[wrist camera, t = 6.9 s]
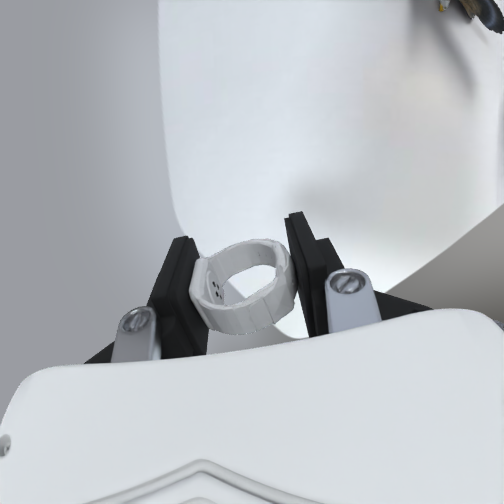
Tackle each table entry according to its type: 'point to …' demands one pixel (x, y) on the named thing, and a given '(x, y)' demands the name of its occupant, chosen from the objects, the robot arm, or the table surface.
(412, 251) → the table surface
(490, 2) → the eagle figurine
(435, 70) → the table surface
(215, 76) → the table surface
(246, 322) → the smartwatch
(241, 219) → the table surface
